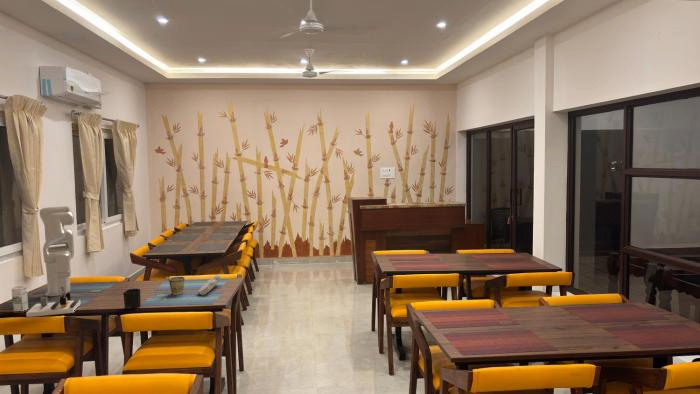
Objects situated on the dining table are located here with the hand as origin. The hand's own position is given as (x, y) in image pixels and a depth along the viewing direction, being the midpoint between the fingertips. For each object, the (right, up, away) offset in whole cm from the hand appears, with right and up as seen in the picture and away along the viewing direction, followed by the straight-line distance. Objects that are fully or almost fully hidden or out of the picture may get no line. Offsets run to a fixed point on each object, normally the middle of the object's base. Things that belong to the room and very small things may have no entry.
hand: (65, 302), depth 300 cm
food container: (+74, 0, +38) cm, 83 cm away
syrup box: (-25, -5, -2) cm, 26 cm away
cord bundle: (0, -2, 0) cm, 2 cm away
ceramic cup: (+56, -1, +32) cm, 65 cm away
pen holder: (+39, -4, +2) cm, 39 cm away
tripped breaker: (+1, -1, -3) cm, 3 cm away
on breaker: (-12, -1, 0) cm, 12 cm away
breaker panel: (-6, -4, -1) cm, 7 cm away
